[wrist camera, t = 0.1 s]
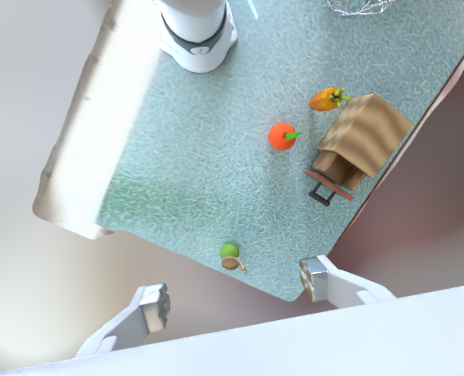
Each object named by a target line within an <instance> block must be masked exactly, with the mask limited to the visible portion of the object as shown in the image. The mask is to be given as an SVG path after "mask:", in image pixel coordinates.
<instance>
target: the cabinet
mask: <svg viewBox="0 0 464 376" xmlns="http://www.w3.org/2000/svg"><path fill="white" fill-rule="evenodd" d="M412 127H413V124H412V123H411V122H410V121H408V120H407V119H406V118H405V117H404V116H402V115H401V114H400V113H399V112H397V111H396V110H395V109H394V108H393V107H391V106H390V105H389V104H388V103H387V102H385V101H384V100H383V99H382V98H380V97H379V96H378V95H377V94H376V93H372V94H368V95H364V96H360V97H356V98H353V99H352V100H349V102H348V103H347V104H346V106H345V107H344V109H343V110H342V112H341V113H340V115H339V116H338V117H337V119H336V120H335V122H334V123H333V125H332V126H331V128H330V129H329V131H328V132H327V133H326V135H325V136H324V138H323V139H322V141H321V142H320V144H319V145H318V147H317V148H318V149H319V150H321V151H323V150H328V151H335V152H336V153H338V154H339V155H341V156H342V157H344V158H345V159H346V160H348V161H349V162H351V163H352V164H353V165H355V166H356V167H358V168H359V169H360V170H362V171H363V172H365V173H366V174H367V175H366V176H368V177H372V178H374V177H375V175H376V174H377V173H378V172H379V170H380V169H381V168H382V166H383V165H384V164H385V162H386V161H387V160H388V158H389V157H390V156H391V154H392V153H393V152H394V150H395V149H396V148H397V146H398V145H399V144H400V142H401V141H402V140H403V138H404V137H405V136H406V135H407V133H408V132H409V131H410V129H411V128H412Z"/></svg>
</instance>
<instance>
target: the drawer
mask: <svg viewBox="0 0 464 376" xmlns="http://www.w3.org/2000/svg"><path fill="white" fill-rule="evenodd" d="M312 167H313V168H314V169H316V170H317V171H319V172H320V173H322V174H323V175H325V176H326V177H328V178H329V179H331V180H332V181H334V182H335V183H337V184H338V185H340V186H343V187H345V188H348V189H350V190H352V191H355V189H356V188H357V187H358V185H359V184H360V183H361V181H362V180H363V179H364V177H365V176H366V175H367V174H366V173H365V172H363V171H362V170H360V169H359V168H358V167H356V166H355V165H353V164H352V163H351V162H349V161H348V160H346V159H345V158H344V157H342V156H341V155H339V154H338V153H336V152H335V151H328V150H323V151H322V152H321V154H320V155H319V156H318V158H317V159H316V161H315V162H314V164H313V165H312ZM304 173H305V174H306V175H308V176H310V177H311V178H313V179H314V180H316V181H317V182H319V183H318V184H317V186H316V187H315V189H314V190H313V191H311V192H310V193H309V196H311V197H312V198H314V199H315V200H317V201H319V202H320V203H322V204H323V205H325V206H329V204H330V200H331V199H332V198H333V196H334V195H335V194H337V195H339V196H341V197H344V198H346V199H348V200H350V201H351V200H352V198H353V197H352V196H351V195H350V194H348V193H347V192H345V191H344V190H342V189H341V188H339V187H338V186H336V185H335V184H333V183H332V182H330V181H329V180H327V179H326V178H324V177H323V176H321V175H320V174H318V173H315V172H313V171H310V170H307V169H306V170H305V171H304ZM321 184H322V185H323V186H325V187H326V188H328V189H329V190H331V191H332V194H331V195H330V196H329V198H328V199H327V200H326V199H324V198H323V197H321V196H320V195H318V194H317V193H315V192H316V191H317V190H318V188H319V187H320V185H321Z"/></svg>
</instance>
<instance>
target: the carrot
mask: <svg viewBox="0 0 464 376" xmlns="http://www.w3.org/2000/svg"><path fill="white" fill-rule="evenodd" d="M343 92H344V88H342V89H341V90H340V89H337V88H335V87H333V86H332V87H329V88H327V89H325V90H323V91H321V92H319V93H317V94H315V95H314V96H313V97H312V99H311V101H310V103H309V104H310V107H311V108H312V109H314V110H316V111H330V110H332V109H334V108H336V107H338V108H340V107H341V104H340V103H341V100H352V97H350V96H345V97H342V93H343Z"/></svg>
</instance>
